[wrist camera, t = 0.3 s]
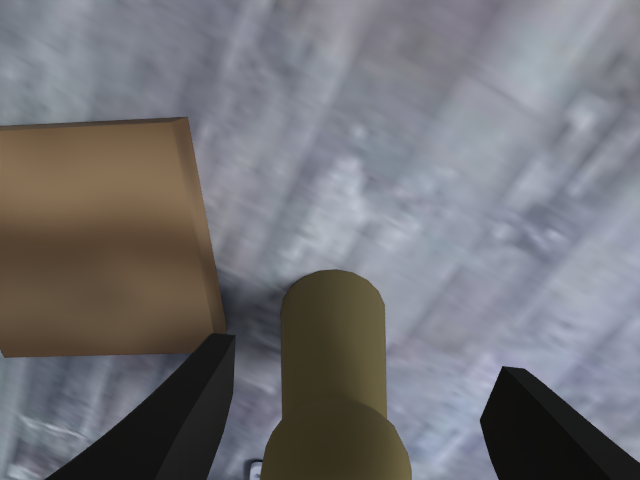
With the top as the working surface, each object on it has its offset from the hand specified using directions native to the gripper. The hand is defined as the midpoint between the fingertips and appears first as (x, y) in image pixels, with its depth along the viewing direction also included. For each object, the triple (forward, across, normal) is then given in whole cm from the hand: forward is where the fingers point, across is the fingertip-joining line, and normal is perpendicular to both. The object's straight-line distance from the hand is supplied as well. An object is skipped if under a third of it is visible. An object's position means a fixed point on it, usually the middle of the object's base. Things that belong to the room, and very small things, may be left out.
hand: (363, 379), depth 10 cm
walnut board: (+11, +13, +2) cm, 17 cm away
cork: (+10, 0, +5) cm, 11 cm away
